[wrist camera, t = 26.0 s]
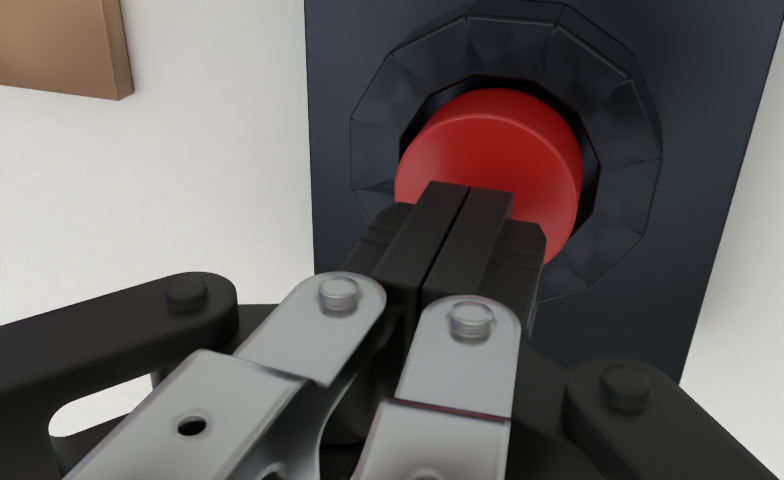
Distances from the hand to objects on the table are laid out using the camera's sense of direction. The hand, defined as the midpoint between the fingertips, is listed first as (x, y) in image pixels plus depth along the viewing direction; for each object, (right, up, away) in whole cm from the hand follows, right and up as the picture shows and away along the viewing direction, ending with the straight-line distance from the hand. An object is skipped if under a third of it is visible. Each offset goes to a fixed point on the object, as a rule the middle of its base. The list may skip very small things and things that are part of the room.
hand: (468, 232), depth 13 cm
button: (+1, +1, +2) cm, 3 cm away
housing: (+2, +3, +6) cm, 7 cm away
